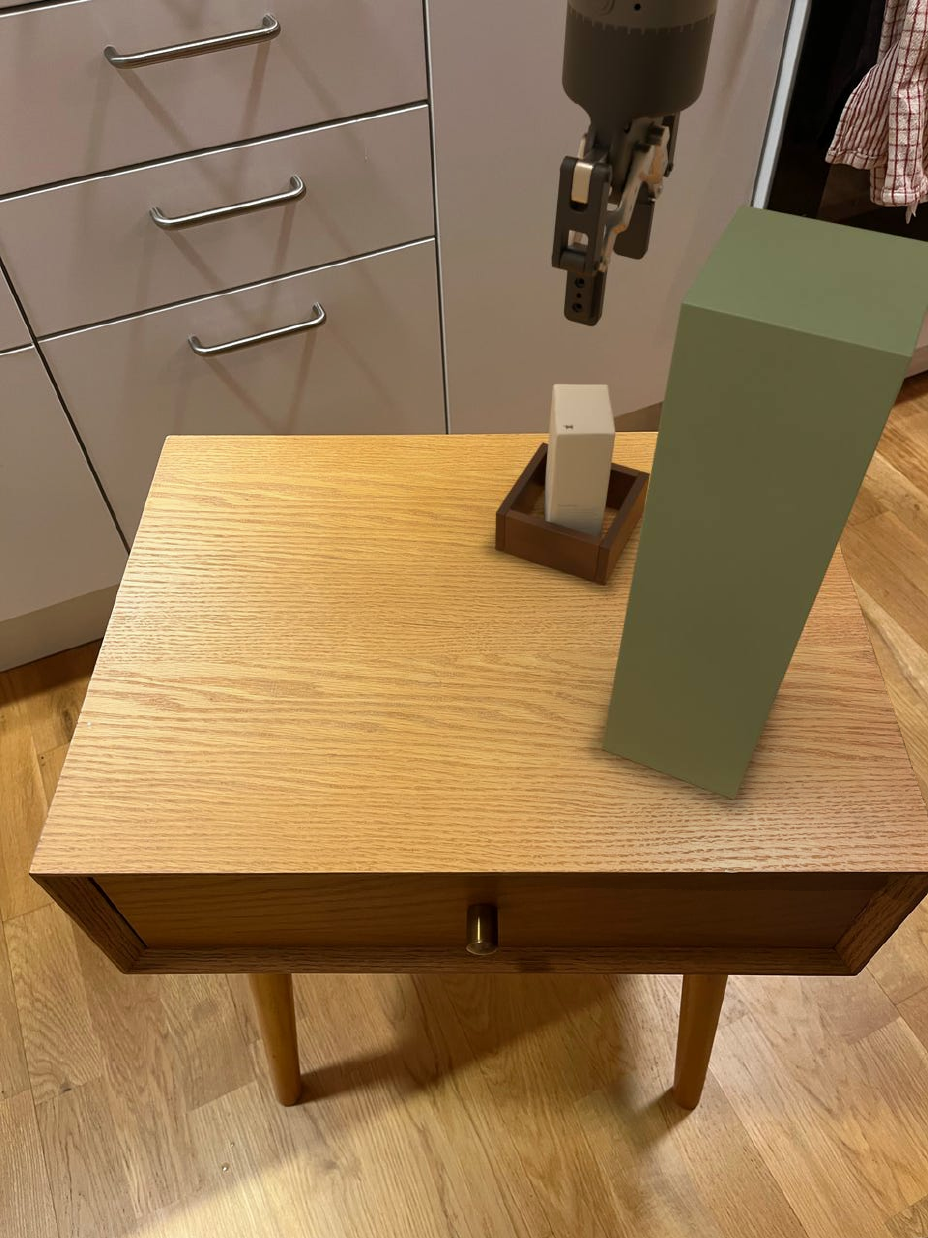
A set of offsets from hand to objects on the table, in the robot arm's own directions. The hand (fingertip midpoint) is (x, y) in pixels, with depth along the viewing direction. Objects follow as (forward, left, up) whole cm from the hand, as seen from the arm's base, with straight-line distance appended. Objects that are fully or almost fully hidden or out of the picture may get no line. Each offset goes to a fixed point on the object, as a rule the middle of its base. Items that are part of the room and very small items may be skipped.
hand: (606, 286), depth 61 cm
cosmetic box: (+1, 0, -22) cm, 22 cm away
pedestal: (-13, +14, -22) cm, 29 cm away
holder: (+1, 0, -22) cm, 22 cm away
